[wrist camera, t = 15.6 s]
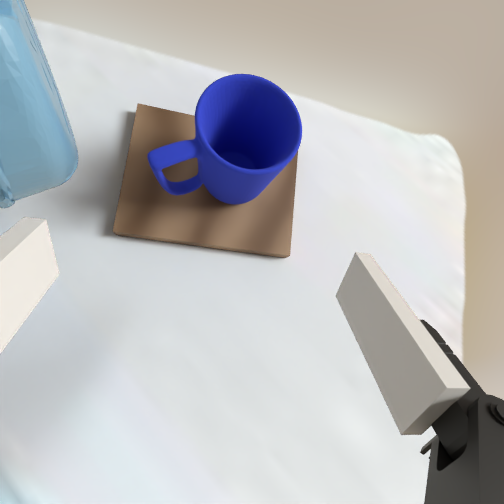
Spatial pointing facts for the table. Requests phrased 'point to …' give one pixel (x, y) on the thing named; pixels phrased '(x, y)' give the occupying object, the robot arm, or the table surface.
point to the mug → (235, 140)
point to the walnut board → (197, 197)
